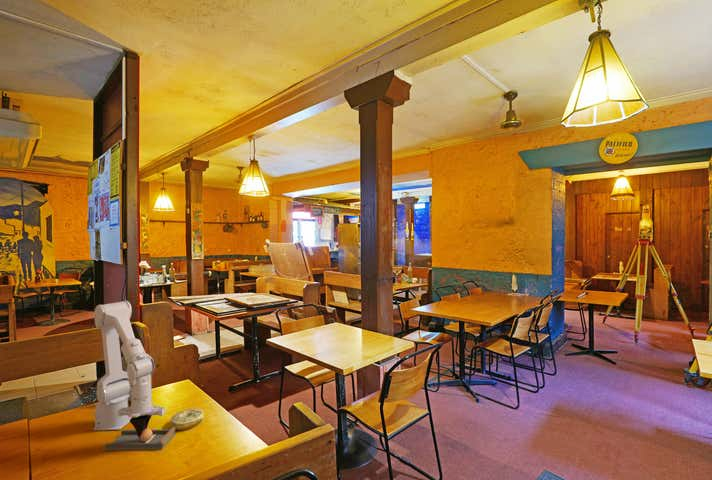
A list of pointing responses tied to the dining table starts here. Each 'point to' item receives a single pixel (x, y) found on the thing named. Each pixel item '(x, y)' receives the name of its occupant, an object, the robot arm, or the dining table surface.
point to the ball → (146, 435)
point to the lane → (133, 442)
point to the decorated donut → (186, 419)
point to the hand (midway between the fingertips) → (142, 436)
